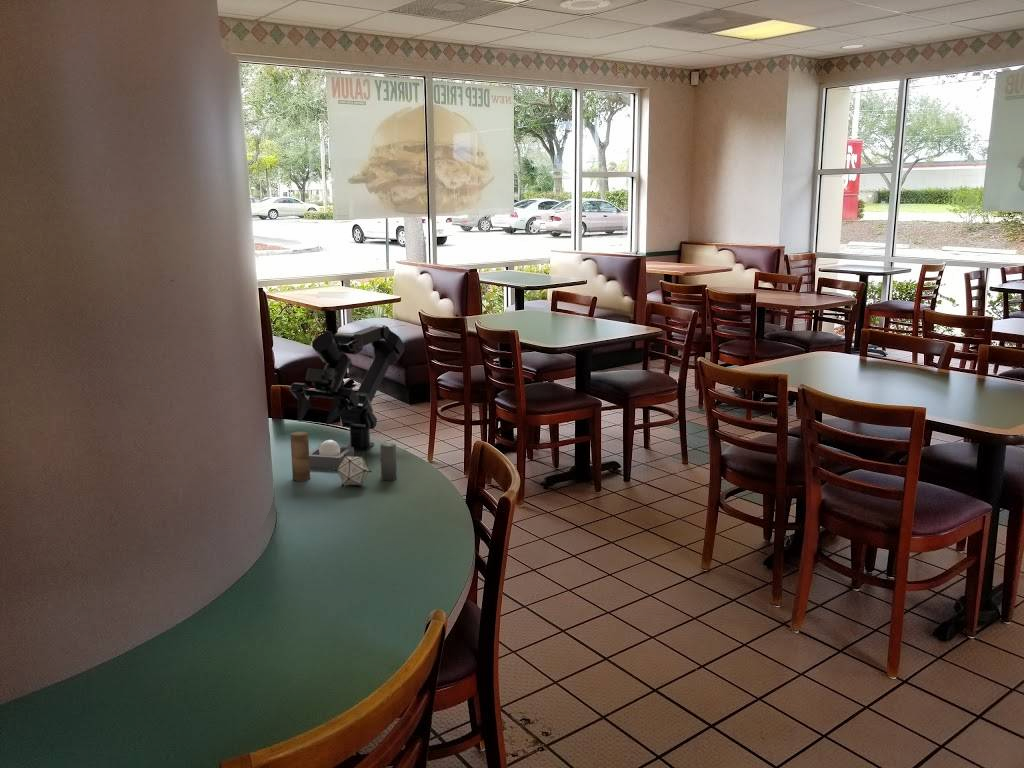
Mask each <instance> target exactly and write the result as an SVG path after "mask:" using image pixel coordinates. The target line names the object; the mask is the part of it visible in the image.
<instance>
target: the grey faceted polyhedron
mask: <svg viewBox="0 0 1024 768" xmlns="http://www.w3.org/2000/svg"><path fill="white" fill-rule="evenodd" d="M344 456H345V458H344V459H343V461H342V462H341V464H340V465H339V467H338V469H333V470H334V471H336V472H337V473H338V476H339V478H340V479H341V482H342V484H341V488H343V487H344V486H345V485H348V486H349V485H352V486H359V487H360V488H363V485H362V484H363V482H364V480H365V479H366V477H367V475H368V474H369V473H372V472H373V471H372V470H371V469H370V470H369V468H368V465H367V463H366V461H365V459H364V457H365V454H364V453H363V454H362V455H361V456H355V455H354V456H346V454H344Z"/></svg>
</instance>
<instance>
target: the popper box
mask: <svg viewBox="0 0 1024 768" xmlns="http://www.w3.org/2000/svg"><path fill="white" fill-rule="evenodd" d="M320 446H321V444H319V445H318V446H316V447H315V448H313V449H312V450H311V451H309V462H310V468H316V469H317V468H319V469H330V470H334V469H338V467H339V465H340V464H341V462H342V461H343V459H344V458H345V456H344V454H346V456H355V450H354V447H347V446H345V445H343V446H341V445H339V447H340V455H339V456H326V455H319V448H320Z"/></svg>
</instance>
